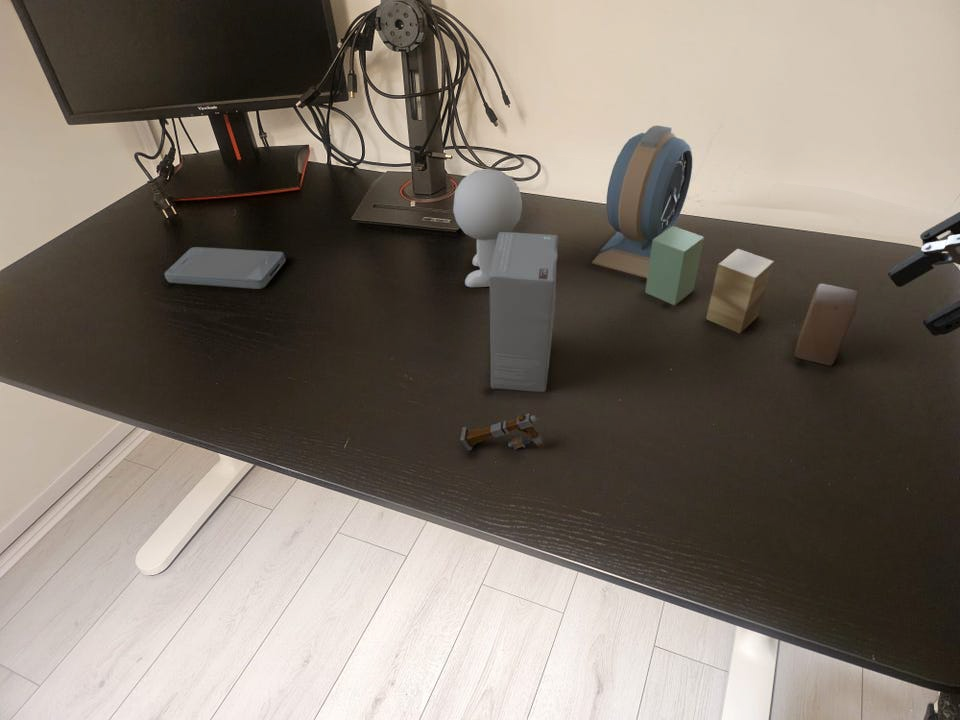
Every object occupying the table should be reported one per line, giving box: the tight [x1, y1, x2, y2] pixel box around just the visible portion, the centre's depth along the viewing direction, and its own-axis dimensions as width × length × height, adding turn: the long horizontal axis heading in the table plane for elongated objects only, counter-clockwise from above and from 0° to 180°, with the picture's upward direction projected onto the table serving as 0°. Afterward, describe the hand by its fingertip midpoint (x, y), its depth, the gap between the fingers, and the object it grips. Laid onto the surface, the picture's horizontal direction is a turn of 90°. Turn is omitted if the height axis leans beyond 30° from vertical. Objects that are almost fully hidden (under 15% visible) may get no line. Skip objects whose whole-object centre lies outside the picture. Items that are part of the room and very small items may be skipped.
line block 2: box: [705, 248, 775, 334], centre depth 73 cm, size 4×4×8 cm
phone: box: [163, 246, 287, 290], centre depth 91 cm, size 8×16×1 cm, turn 78°
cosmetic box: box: [489, 231, 559, 393], centre depth 66 cm, size 8×7×16 cm
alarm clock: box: [591, 125, 693, 279], centre depth 83 cm, size 14×10×18 cm
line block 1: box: [644, 225, 705, 306], centre depth 78 cm, size 4×4×8 cm
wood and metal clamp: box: [460, 413, 544, 452], centre depth 61 cm, size 2×8×4 cm, turn 84°
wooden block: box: [794, 283, 859, 367], centre depth 67 cm, size 4×4×8 cm
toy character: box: [452, 168, 523, 288], centre depth 82 cm, size 9×9×15 cm
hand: (909, 303), depth 64 cm, fingers open, 8 cm apart
